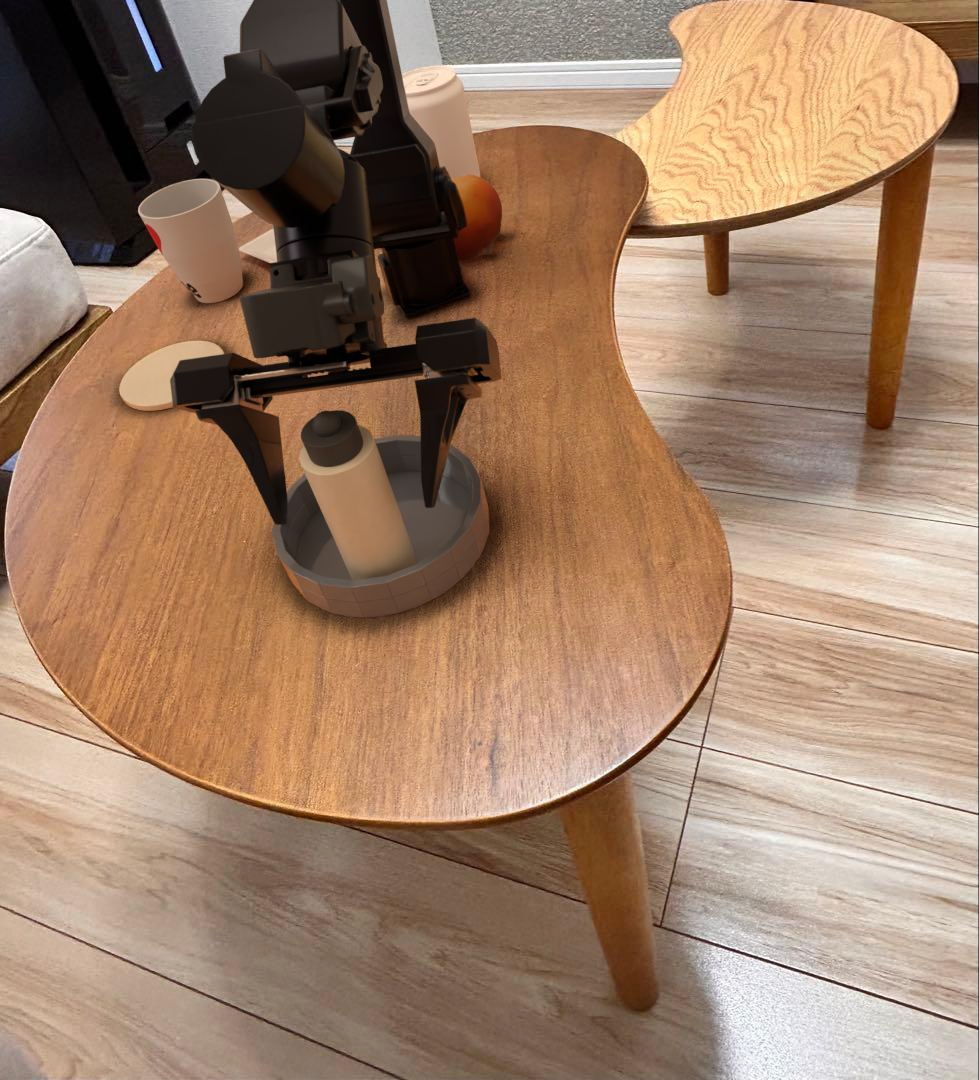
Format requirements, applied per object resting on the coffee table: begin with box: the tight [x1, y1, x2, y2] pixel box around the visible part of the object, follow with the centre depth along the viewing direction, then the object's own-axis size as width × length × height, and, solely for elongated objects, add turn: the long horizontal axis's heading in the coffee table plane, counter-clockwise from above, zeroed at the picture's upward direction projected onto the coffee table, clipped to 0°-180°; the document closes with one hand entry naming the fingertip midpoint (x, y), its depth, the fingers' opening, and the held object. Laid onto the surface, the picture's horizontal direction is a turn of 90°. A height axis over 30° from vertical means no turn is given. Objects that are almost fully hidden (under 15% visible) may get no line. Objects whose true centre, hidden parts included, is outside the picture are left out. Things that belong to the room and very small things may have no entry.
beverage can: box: [402, 65, 482, 179], centre depth 93 cm, size 8×8×12 cm
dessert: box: [238, 227, 277, 264], centre depth 92 cm, size 12×12×5 cm
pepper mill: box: [298, 409, 418, 580], centre depth 52 cm, size 4×4×14 cm
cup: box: [137, 178, 244, 304], centre depth 87 cm, size 8×8×10 cm
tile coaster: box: [118, 340, 225, 412], centre depth 80 cm, size 10×10×1 cm
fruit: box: [452, 175, 507, 262], centre depth 85 cm, size 8×8×8 cm
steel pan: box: [271, 434, 490, 619], centre depth 59 cm, size 14×14×4 cm
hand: (354, 516), depth 51 cm, fingers open, 9 cm apart
